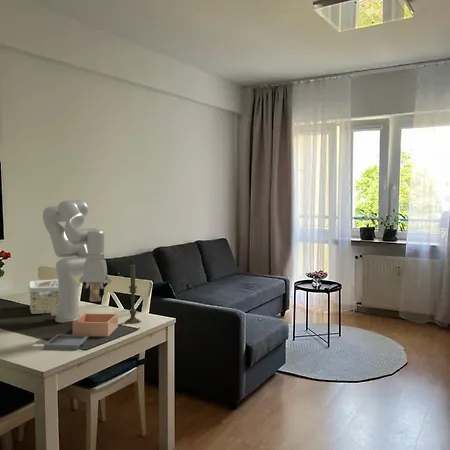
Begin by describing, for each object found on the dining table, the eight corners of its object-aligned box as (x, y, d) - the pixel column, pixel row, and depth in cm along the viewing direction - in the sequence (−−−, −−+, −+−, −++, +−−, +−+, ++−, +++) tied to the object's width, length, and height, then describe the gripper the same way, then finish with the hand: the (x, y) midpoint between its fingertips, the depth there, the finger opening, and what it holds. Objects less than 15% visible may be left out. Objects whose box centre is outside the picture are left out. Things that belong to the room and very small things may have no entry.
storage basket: (28, 305, 269) (28, 280, 268) (58, 303, 275) (58, 278, 275) (29, 315, 247) (29, 287, 246) (62, 313, 253) (61, 285, 253)
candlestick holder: (133, 327, 227) (133, 265, 226) (119, 324, 232) (119, 263, 231) (146, 323, 235) (146, 263, 233) (132, 320, 240) (132, 261, 238)
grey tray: (43, 349, 194) (43, 344, 194) (57, 338, 208) (57, 334, 208) (77, 349, 193) (77, 345, 193) (88, 339, 207) (88, 335, 207)
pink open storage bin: (72, 337, 210) (72, 322, 209) (84, 327, 226) (84, 313, 225) (108, 338, 209) (108, 323, 209) (118, 328, 225) (117, 314, 225)
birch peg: (88, 301, 214) (88, 279, 214) (91, 298, 219) (91, 277, 219) (99, 301, 214) (99, 280, 213) (102, 299, 219) (102, 278, 218)
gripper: (74, 257, 212) (74, 297, 213) (111, 259, 211) (111, 299, 213) (80, 255, 219) (80, 294, 221) (116, 256, 219) (116, 295, 220)
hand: (95, 296), depth 217 cm, fingers closed on birch peg, 5 cm apart
